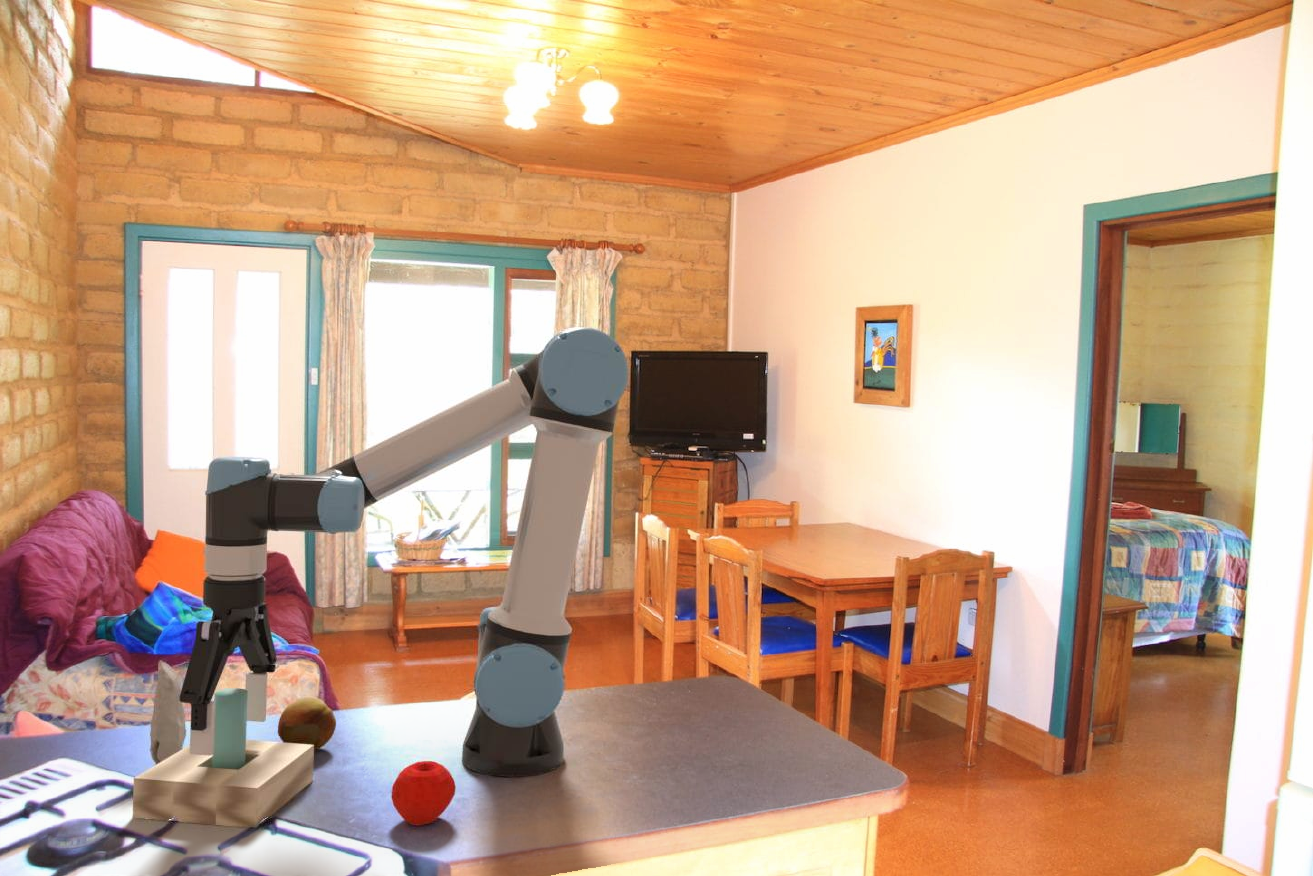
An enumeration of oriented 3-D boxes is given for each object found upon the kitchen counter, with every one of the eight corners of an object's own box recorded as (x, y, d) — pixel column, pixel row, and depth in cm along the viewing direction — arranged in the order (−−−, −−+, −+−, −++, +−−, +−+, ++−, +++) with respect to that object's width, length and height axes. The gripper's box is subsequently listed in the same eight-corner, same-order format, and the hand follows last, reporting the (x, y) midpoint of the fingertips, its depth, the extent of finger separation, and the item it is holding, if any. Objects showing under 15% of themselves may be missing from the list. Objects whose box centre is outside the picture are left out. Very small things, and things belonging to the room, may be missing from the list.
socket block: (312, 780, 137) (314, 745, 137) (256, 828, 121) (257, 788, 121) (202, 771, 139) (204, 736, 139) (132, 818, 123) (133, 778, 123)
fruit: (338, 756, 147) (340, 702, 147) (279, 762, 144) (281, 708, 143) (331, 739, 154) (332, 689, 154) (274, 745, 150) (276, 693, 150)
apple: (454, 833, 123) (457, 774, 122) (388, 836, 121) (391, 776, 121) (454, 807, 130) (456, 751, 130) (392, 810, 129) (394, 753, 129)
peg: (249, 793, 132) (253, 689, 131) (234, 805, 128) (238, 698, 127) (221, 791, 132) (224, 687, 132) (204, 802, 128) (208, 696, 128)
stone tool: (166, 778, 136) (170, 669, 135) (141, 778, 135) (145, 669, 135) (189, 754, 145) (192, 653, 145) (165, 754, 145) (169, 653, 144)
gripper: (254, 559, 142) (249, 706, 143) (151, 590, 117) (145, 767, 118) (304, 562, 141) (299, 710, 142) (211, 594, 117) (205, 772, 117)
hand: (229, 736), depth 130 cm, fingers open, 13 cm apart
